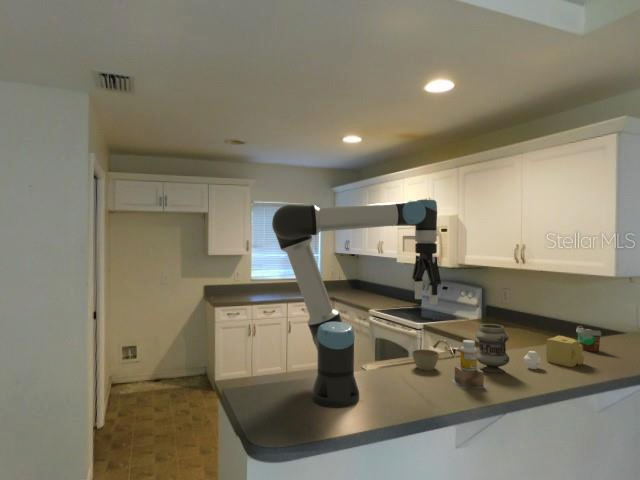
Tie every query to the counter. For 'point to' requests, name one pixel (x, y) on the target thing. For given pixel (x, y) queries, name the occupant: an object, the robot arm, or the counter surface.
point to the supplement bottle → (468, 356)
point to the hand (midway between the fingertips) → (425, 301)
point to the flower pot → (425, 359)
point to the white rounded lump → (532, 360)
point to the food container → (588, 339)
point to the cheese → (564, 351)
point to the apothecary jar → (492, 347)
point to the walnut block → (469, 377)
